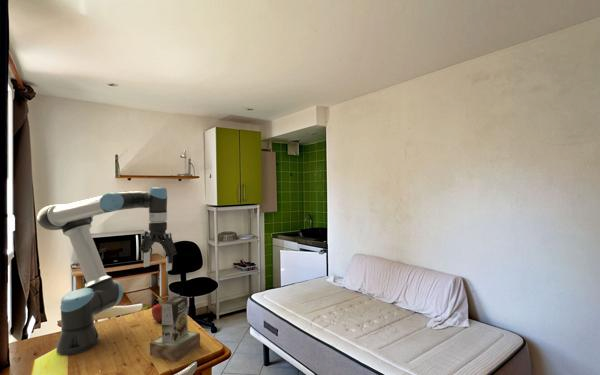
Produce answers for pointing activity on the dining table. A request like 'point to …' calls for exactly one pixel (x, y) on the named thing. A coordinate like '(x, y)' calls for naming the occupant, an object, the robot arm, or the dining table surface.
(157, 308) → the vegetable
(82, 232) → the robot arm
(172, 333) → the coffee box
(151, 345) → the brown and green tray
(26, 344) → the dining table surface
